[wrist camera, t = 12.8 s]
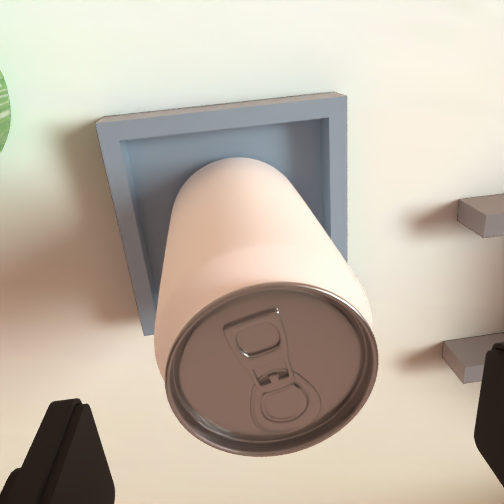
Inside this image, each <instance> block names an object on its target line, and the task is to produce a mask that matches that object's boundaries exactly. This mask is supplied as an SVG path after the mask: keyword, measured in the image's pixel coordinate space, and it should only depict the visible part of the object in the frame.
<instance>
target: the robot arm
mask: <svg viewBox="0 0 504 504" xmlns="http://www.w3.org/2000/svg"><path fill="white" fill-rule="evenodd" d="M474 439H475V443H476V446H477V448H478V450H479V452H480V453H481V455H482V456H483V457H484V459H485V460H486V462H487V463H488V465H489V466H490V468H491V469H492V471H493V472H494V474H495V475H496V477H497V478H498V479H499V481H500V482H501V484H502V485H503V487H504V342H500V343H495V344H494V345H493V346H492V349H491V350H489V351H487V353H486V356H485V363H484V370H483V376H482V383H481V390H480V397H479V404H478V410H477V417H476V424H475V431H474ZM114 501H115V487H114V483H113V480H112V476H111V473H110V470H109V467H108V463H107V460H106V457H105V454H104V450H103V447H102V444H101V441H100V437H99V434H98V431H97V428H96V424H95V421H94V418H93V415H92V411H91V408H90V406H89V405H88V404H82V402H81V400H80V399H78V398H76V399H68V400H61V401H53V402H52V403H51V404H50V405H49V407H48V409H47V411H46V414H45V416H44V418H43V420H42V423H41V425H40V427H39V429H38V431H37V434H36V436H35V438H34V440H33V443H32V445H31V447H30V449H29V451H28V454H27V456H26V458H25V460H24V463H23V465H22V467H21V468H17V469H15V470H14V471H13V472H11V474H10V476H9V477H8V479H7V481H6V483H5V485H4V487H3V489H2V491H1V494H0V504H114Z"/></svg>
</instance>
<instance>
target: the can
mask: <svg viewBox="0 0 504 504" xmlns="http://www.w3.org/2000/svg"><path fill="white" fill-rule="evenodd" d="M154 347H155V356H156V361H157V365H158V368H159V370H160V373H161V375H162V377H163V379H164V381H165V390H166V395H167V398H168V402H169V404H170V407H171V409H172V411H173V413H174V414H175V416H176V417H177V419H178V420H179V422H180V423H181V424H182V425H183V426H184V427H185V428H186V429H187V430H188V431H189V432H190V433H191V434H192V435H193V436H195V437H196V438H198V439H199V440H201V441H202V442H204V443H206V444H207V445H209V446H212V447H214V448H216V449H219V450H222V451H225V452H228V453H232V454H237V455H243V456H253V457H267V456H278V455H284V454H289V453H293V452H297V451H300V450H303V449H306V448H309V447H311V446H314V445H316V444H318V443H320V442H322V441H324V440H326V439H327V438H329V437H331V436H332V435H334V434H335V433H337V432H338V431H339V430H341V429H342V428H343V427H344V426H346V425H347V424H348V423H349V422H350V421H351V420H352V419H353V418H354V417H355V416H356V415H357V413H358V412H359V411H360V410H361V408H362V407H363V406H364V404H365V403H366V401H367V399H368V397H369V396H370V394H371V391H372V389H373V386H374V384H375V380H376V377H377V371H378V349H377V344H376V340H375V337H374V335H373V326H372V315H371V310H370V306H369V303H368V300H367V297H366V295H365V293H364V290H363V288H362V286H361V285H360V283H359V281H358V280H357V278H356V276H355V275H354V273H353V272H352V270H351V268H350V267H349V265H348V264H347V262H346V261H345V260H344V258H343V257H342V255H341V254H340V252H339V251H338V249H337V248H336V246H335V245H334V243H333V242H332V240H331V239H330V238H329V236H328V235H327V233H326V232H325V230H324V229H323V227H322V226H321V225H320V223H319V222H318V220H317V219H316V217H315V216H314V214H313V213H312V212H311V210H310V209H309V207H308V206H307V204H306V203H305V202H304V200H303V199H302V197H301V196H300V195H299V193H298V192H297V190H296V189H295V188H294V186H293V185H292V184H291V183H290V181H289V180H288V179H287V178H286V177H285V176H284V175H283V174H282V173H281V172H279V171H278V170H277V169H275V168H274V167H272V166H270V165H269V164H267V163H264V162H262V161H259V160H255V159H251V158H242V157H234V158H226V159H221V160H218V161H215V162H212V163H210V164H208V165H206V166H204V167H202V168H201V169H199V170H198V171H196V172H195V173H194V174H193V175H192V176H191V177H190V178H189V179H188V180H187V181H186V182H185V183H184V185H183V186H182V188H181V189H180V191H179V193H178V195H177V197H176V199H175V202H174V205H173V209H172V213H171V219H170V225H169V231H168V237H167V243H166V250H165V256H164V263H163V269H162V276H161V283H160V290H159V297H158V304H157V312H156V319H155V330H154Z"/></svg>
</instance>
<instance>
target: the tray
mask: <svg viewBox="0 0 504 504" xmlns="http://www.w3.org/2000/svg"><path fill="white" fill-rule="evenodd" d="M95 125H96V129H97V134H98V138H99V142H100V147H101V151H102V155H103V160H104V164H105V169H106V173H107V177H108V182H109V186H110V190H111V195H112V199H113V203H114V208H115V212H116V216H117V221H118V225H119V229H120V234H121V238H122V242H123V247H124V251H125V255H126V260H127V264H128V268H129V273H130V277H131V281H132V286H133V290H134V294H135V299H136V303H137V308H138V312H139V316H140V321H141V325H142V329H143V334H144V336H147V335H154V330H155V319H156V312H157V304H158V297H159V290H160V283H161V276H162V269H163V263H164V256H165V250H166V243H167V237H168V231H169V225H170V219H171V213H172V209H173V205H174V202H175V199H176V197H177V195H178V193H179V191H180V189H181V188H182V186H183V185H184V183H185V182H186V181H187V180H188V179H189V178H190V177H191V176H192V175H193V174H194V173H195V172H196V171H198V170H199V169H201V168H202V167H204V166H206V165H208V164H210V163H212V162H215V161H218V160H221V159H226V158H234V157H242V158H251V159H255V160H259V161H262V162H264V163H267V164H269V165H270V166H272V167H274V168H275V169H277V170H278V171H279V172H281V173H282V174H283V175H284V176H285V177H286V178H287V179H288V180H289V181H290V183H291V184H292V185H293V186H294V188H295V189H296V190H297V192H298V193H299V195H300V196H301V197H302V199H303V200H304V202H305V203H306V204H307V206H308V207H309V209H310V210H311V212H312V213H313V214H314V216H315V217H316V219H317V220H318V222H319V223H320V225H321V226H322V227H323V229H324V230H325V232H326V233H327V235H328V236H329V238H330V239H331V240H332V242H333V243H334V245H335V246H336V248H337V249H338V251H339V252H340V254H341V255H342V257H343V258H344V260H345V261H346V262H347V96H346V95H343V94H340V93H337V92H327V93H318V94H309V95H299V96H290V97H281V98H271V99H262V100H253V101H243V102H234V103H225V104H215V105H206V106H197V107H187V108H178V109H169V110H159V111H150V112H141V113H131V114H122V115H113V116H104V117H103V118H101V119H100V120H99V121H97V122H96V123H95Z"/></svg>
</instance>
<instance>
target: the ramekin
mask: <svg viewBox="0 0 504 504" xmlns="http://www.w3.org/2000/svg"><path fill="white" fill-rule="evenodd" d="M10 117H11V111H10V100H9V95H8V90H7V86H6V83H5V80H4V77H3V75H2V73H1V71H0V152H1V151H2V149H3V147H4V144H5V142H6V140H7V136H8V132H9V128H10Z"/></svg>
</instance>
